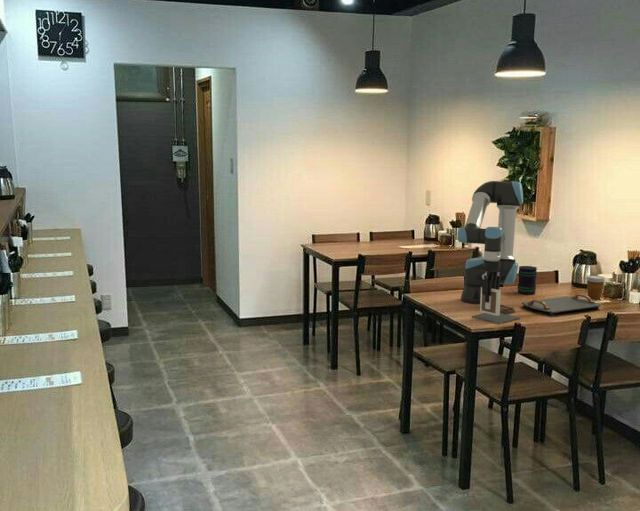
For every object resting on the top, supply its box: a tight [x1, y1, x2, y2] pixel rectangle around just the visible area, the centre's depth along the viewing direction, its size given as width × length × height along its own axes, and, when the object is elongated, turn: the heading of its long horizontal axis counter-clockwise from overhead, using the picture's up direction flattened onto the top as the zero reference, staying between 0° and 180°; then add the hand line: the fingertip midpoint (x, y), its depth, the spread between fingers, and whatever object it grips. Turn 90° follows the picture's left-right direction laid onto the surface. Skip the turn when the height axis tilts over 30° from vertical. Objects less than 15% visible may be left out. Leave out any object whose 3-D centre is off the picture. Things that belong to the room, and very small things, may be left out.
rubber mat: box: [471, 312, 521, 325], centre depth 303 cm, size 16×16×1 cm
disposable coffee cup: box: [585, 275, 606, 300], centre depth 344 cm, size 10×10×12 cm
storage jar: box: [517, 265, 538, 296], centre depth 355 cm, size 10×10×15 cm
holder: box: [500, 304, 516, 315], centre depth 317 cm, size 14×8×3 cm, turn 38°
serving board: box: [521, 293, 602, 317], centre depth 322 cm, size 39×23×6 cm, turn 115°
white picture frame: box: [479, 287, 502, 316], centre depth 298 cm, size 10×2×12 cm, turn 38°
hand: (489, 308), depth 299 cm, fingers closed on white picture frame, 2 cm apart
